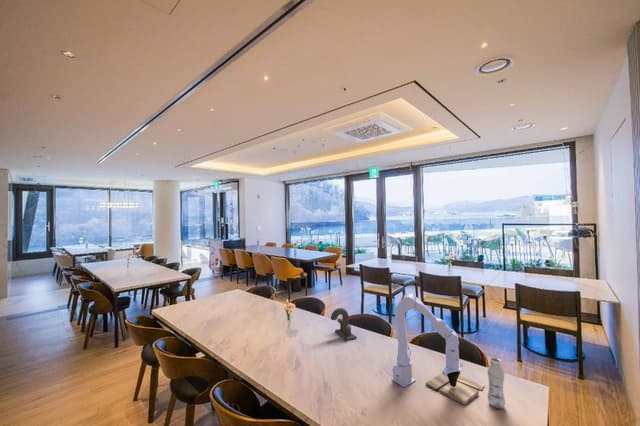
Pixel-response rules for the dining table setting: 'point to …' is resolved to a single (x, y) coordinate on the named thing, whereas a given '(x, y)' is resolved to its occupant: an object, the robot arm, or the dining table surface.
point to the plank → (470, 383)
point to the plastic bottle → (496, 384)
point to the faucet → (343, 324)
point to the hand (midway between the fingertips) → (452, 385)
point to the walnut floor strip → (438, 382)
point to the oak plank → (459, 392)
